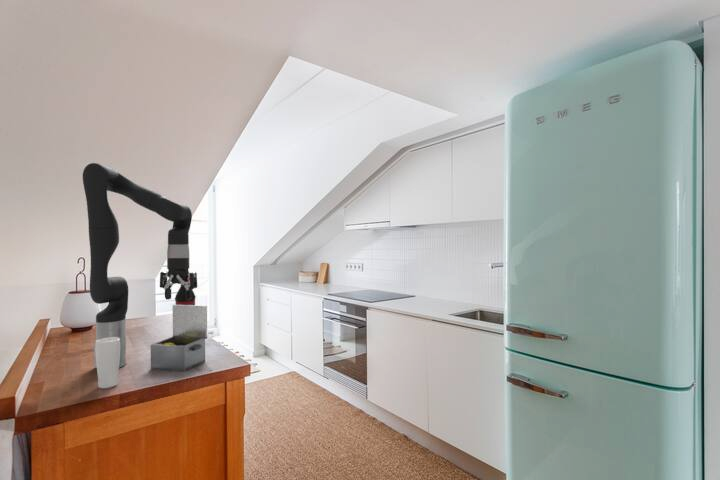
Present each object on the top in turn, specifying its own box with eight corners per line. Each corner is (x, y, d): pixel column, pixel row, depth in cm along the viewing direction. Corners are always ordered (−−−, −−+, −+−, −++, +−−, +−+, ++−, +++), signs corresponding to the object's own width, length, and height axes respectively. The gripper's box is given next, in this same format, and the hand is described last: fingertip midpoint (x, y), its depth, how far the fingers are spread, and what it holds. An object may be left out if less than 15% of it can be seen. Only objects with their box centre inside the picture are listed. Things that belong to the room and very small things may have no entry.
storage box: (147, 369, 137) (147, 344, 137) (170, 358, 148) (170, 335, 148) (187, 372, 133) (187, 346, 133) (207, 361, 145) (207, 338, 145)
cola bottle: (172, 342, 172) (172, 276, 172) (191, 338, 178) (191, 275, 178) (179, 345, 166) (178, 278, 166) (198, 342, 172) (198, 276, 172)
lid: (172, 305, 148) (175, 304, 150) (172, 337, 148) (175, 336, 150) (205, 306, 145) (208, 305, 147) (205, 339, 145) (208, 338, 147)
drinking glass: (95, 391, 116) (95, 343, 116) (95, 385, 122) (94, 339, 122) (121, 386, 120) (121, 340, 120) (120, 380, 126) (119, 335, 126)
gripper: (154, 256, 138) (154, 300, 139) (188, 257, 136) (188, 302, 136) (168, 255, 146) (168, 297, 146) (201, 256, 143) (201, 298, 143)
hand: (178, 299), depth 141 cm, fingers open, 8 cm apart
